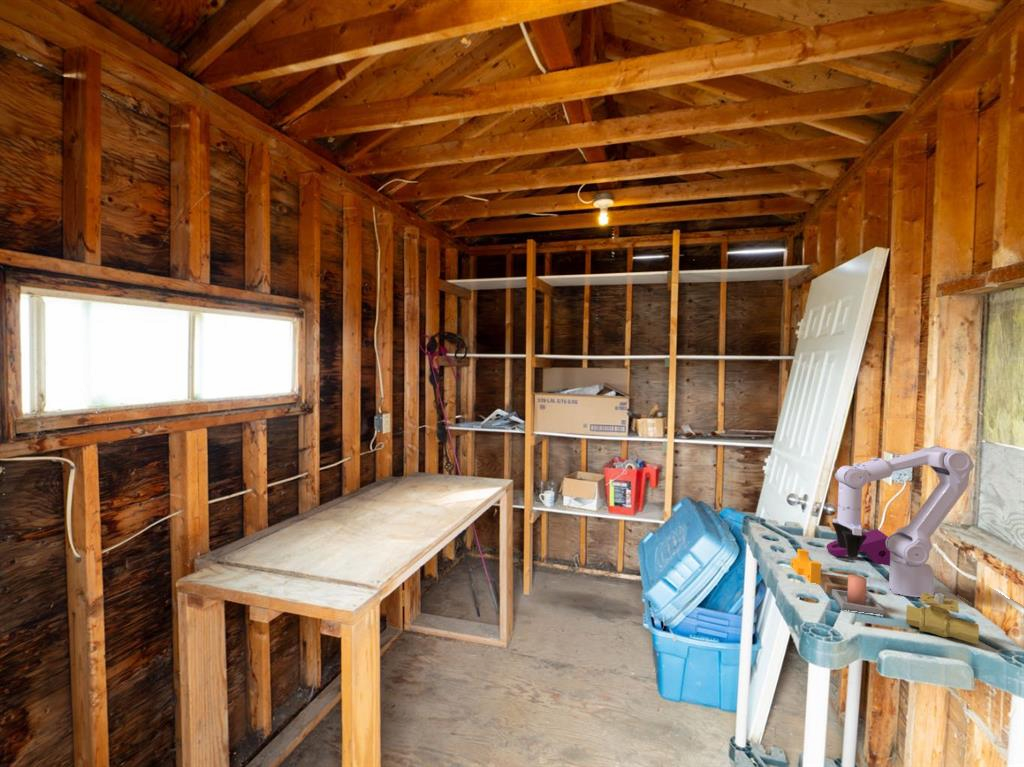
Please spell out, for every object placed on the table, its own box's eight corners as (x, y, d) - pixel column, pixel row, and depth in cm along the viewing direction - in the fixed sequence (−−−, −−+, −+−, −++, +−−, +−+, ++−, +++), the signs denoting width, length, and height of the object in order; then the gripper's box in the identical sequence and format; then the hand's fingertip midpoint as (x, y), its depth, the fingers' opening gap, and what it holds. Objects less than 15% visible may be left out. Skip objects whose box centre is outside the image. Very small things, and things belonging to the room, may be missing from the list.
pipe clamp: (790, 567, 150) (791, 548, 150) (805, 569, 149) (806, 549, 149) (803, 583, 138) (804, 562, 138) (820, 585, 137) (821, 564, 137)
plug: (862, 601, 125) (863, 576, 125) (867, 608, 122) (869, 582, 122) (845, 598, 127) (846, 573, 127) (849, 605, 123) (850, 579, 123)
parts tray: (870, 602, 127) (870, 594, 127) (883, 617, 119) (884, 610, 119) (831, 595, 130) (832, 588, 130) (842, 610, 122) (842, 603, 122)
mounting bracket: (842, 576, 159) (901, 561, 153) (831, 552, 160) (888, 537, 154) (833, 566, 167) (889, 551, 162) (822, 543, 169) (877, 528, 163)
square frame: (852, 586, 137) (853, 578, 137) (864, 599, 128) (864, 590, 128) (817, 580, 140) (817, 572, 140) (826, 593, 131) (826, 584, 131)
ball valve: (905, 631, 113) (907, 590, 113) (907, 616, 120) (909, 578, 120) (978, 653, 104) (980, 609, 104) (976, 635, 112) (977, 594, 111)
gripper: (826, 499, 146) (824, 542, 146) (841, 511, 132) (839, 558, 132) (853, 502, 143) (851, 545, 143) (871, 514, 130) (869, 562, 130)
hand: (847, 551), depth 138 cm, fingers open, 7 cm apart
